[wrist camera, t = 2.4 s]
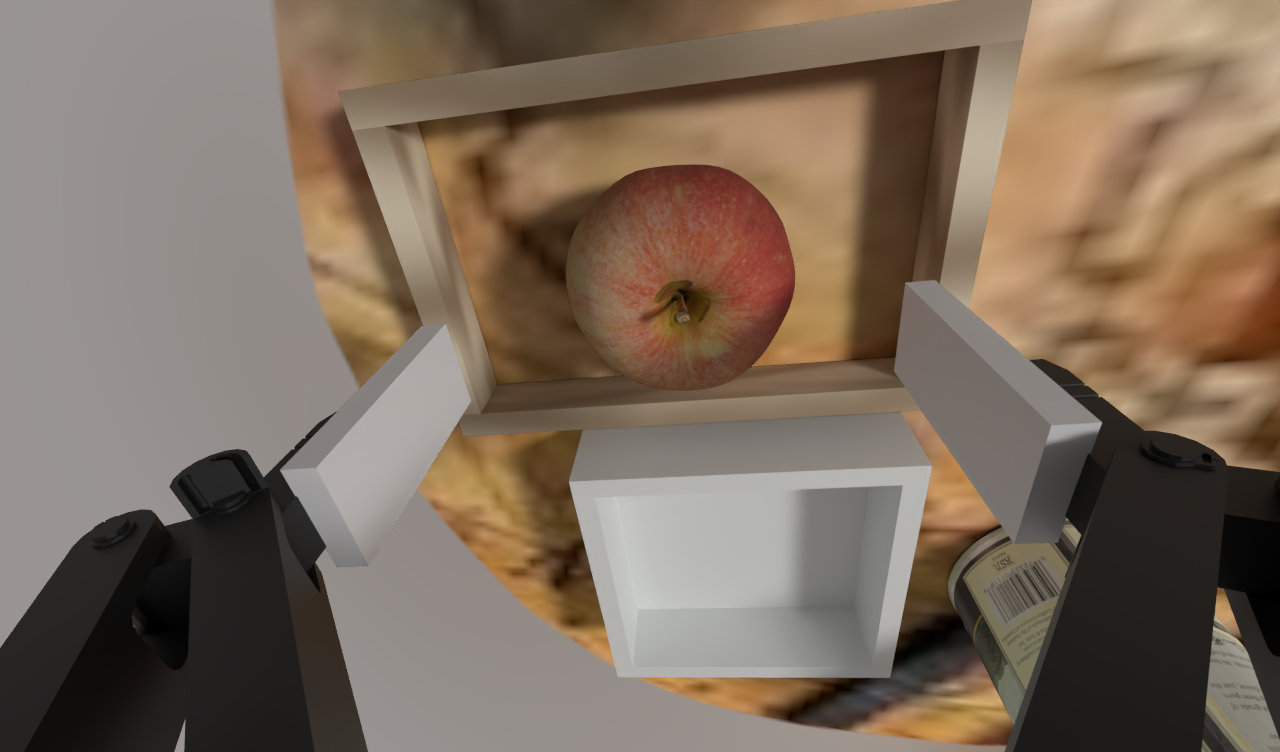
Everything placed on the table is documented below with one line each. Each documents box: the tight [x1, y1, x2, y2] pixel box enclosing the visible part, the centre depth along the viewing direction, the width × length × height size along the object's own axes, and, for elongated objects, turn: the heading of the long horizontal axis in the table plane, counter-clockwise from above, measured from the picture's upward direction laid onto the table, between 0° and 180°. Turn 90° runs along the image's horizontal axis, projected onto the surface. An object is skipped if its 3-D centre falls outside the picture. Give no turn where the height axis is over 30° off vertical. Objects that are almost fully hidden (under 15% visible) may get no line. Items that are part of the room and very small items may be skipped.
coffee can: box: [948, 519, 1280, 752], centre depth 25 cm, size 10×10×14 cm
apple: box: [566, 165, 795, 391], centre depth 19 cm, size 8×8×8 cm
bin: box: [569, 412, 932, 678], centre depth 28 cm, size 15×15×4 cm
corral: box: [338, 0, 1032, 436], centre depth 21 cm, size 14×21×2 cm
